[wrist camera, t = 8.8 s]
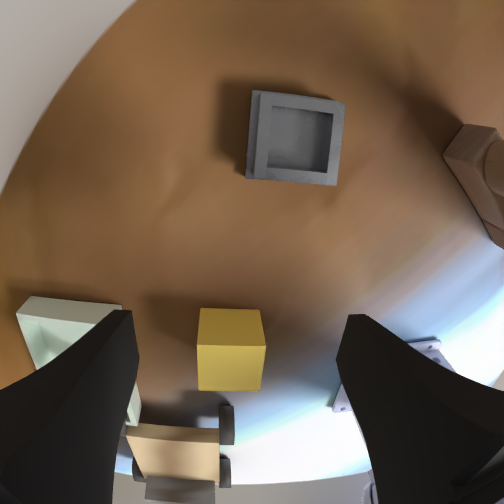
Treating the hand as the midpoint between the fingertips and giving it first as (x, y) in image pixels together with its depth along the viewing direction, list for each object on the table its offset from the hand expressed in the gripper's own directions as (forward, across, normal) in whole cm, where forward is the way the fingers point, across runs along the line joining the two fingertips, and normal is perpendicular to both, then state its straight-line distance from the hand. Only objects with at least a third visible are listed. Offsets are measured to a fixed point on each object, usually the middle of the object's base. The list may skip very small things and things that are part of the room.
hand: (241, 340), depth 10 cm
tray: (+10, +12, +11) cm, 19 cm away
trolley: (+10, +5, +21) cm, 24 cm away
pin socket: (+10, -3, -6) cm, 12 cm away
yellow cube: (+10, 0, +7) cm, 12 cm away
